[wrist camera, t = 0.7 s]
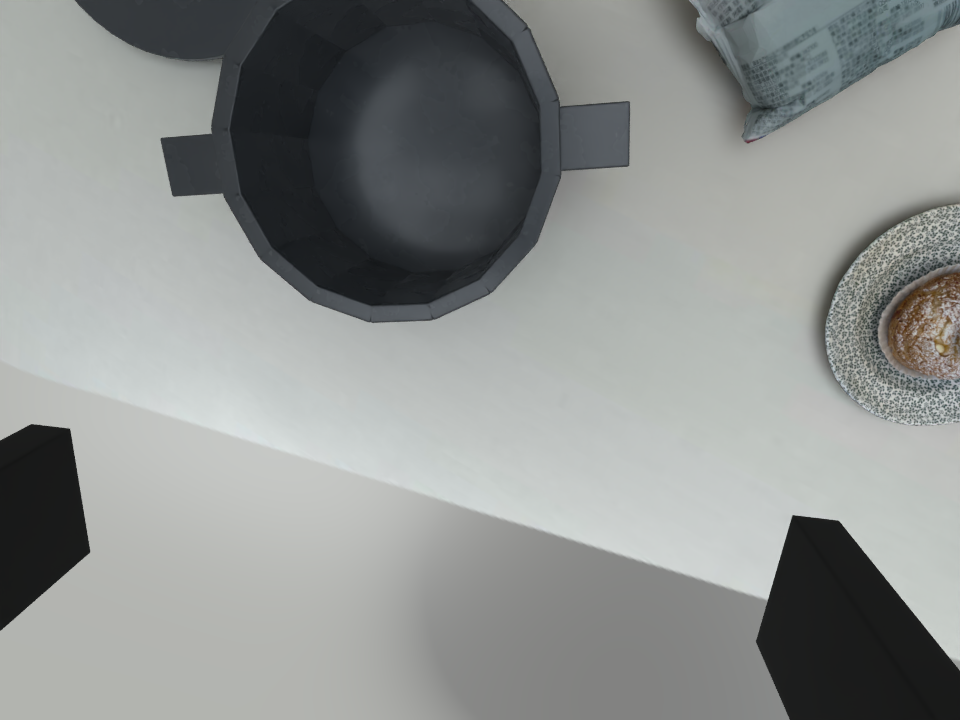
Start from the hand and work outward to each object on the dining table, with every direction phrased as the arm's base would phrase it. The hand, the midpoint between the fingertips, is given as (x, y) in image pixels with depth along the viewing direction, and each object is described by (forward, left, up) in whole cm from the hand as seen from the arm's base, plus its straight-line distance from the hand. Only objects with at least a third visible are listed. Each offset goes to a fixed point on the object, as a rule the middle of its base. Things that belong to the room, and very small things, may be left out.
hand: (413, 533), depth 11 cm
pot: (-7, -4, -24) cm, 26 cm away
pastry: (+3, +23, -25) cm, 34 cm away
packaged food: (-13, +15, -25) cm, 32 cm away
